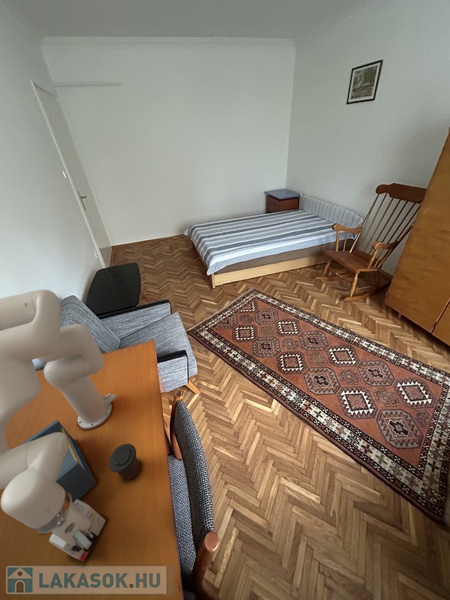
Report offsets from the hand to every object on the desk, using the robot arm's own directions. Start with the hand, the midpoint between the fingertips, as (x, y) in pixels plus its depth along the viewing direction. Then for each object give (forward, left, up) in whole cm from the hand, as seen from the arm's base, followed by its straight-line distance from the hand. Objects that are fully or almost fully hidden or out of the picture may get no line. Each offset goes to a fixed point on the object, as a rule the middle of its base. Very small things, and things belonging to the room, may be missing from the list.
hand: (82, 532), depth 63 cm
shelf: (+1, -21, -4) cm, 21 cm away
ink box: (0, 0, -4) cm, 4 cm away
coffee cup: (-16, -6, -4) cm, 18 cm away
